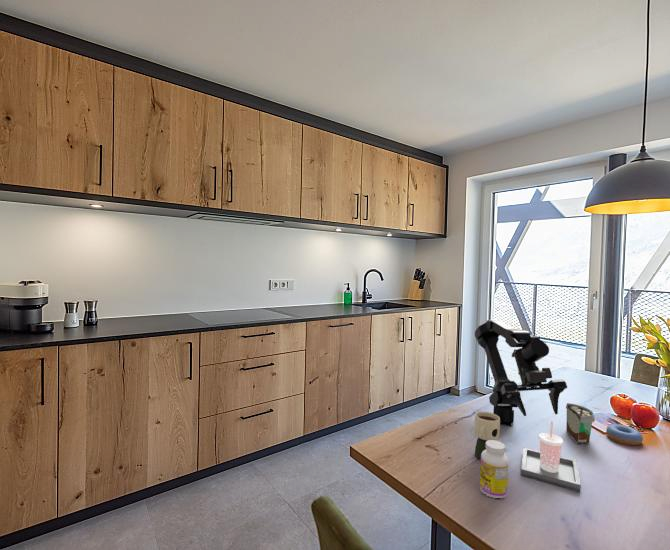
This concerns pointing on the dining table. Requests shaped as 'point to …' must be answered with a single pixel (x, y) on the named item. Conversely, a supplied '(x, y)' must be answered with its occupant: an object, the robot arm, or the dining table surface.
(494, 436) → the character mug
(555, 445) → the beverage cup
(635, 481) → the dining table surface
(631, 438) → the doughnut
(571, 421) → the food container
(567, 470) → the tray
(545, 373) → the robot arm
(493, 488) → the supplement bottle
